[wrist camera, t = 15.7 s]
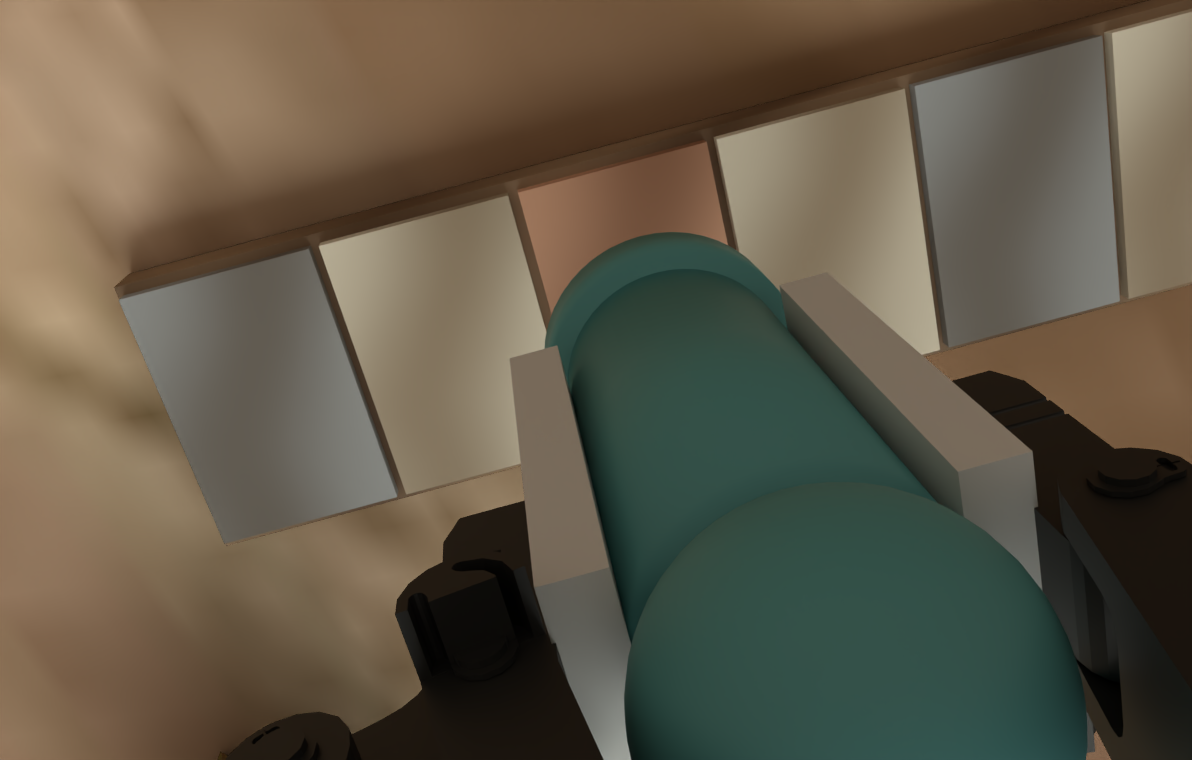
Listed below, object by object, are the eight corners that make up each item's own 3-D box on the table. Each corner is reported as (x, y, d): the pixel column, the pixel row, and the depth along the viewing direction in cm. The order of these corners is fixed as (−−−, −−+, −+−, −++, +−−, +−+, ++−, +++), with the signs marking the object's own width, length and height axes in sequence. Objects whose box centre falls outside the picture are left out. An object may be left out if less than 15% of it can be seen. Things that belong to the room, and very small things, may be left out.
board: (1259, -30, 22) (1304, -29, 21) (1262, 245, 25) (1303, 260, 23) (129, 274, 22) (109, 291, 21) (235, 523, 24) (223, 553, 23)
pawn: (762, 203, 18) (1199, 562, 7) (804, 428, 19) (1214, 994, 9) (515, 270, 18) (588, 730, 7) (578, 489, 19) (714, 1136, 9)
